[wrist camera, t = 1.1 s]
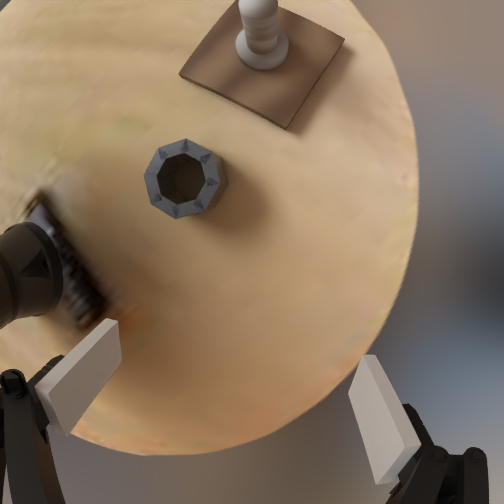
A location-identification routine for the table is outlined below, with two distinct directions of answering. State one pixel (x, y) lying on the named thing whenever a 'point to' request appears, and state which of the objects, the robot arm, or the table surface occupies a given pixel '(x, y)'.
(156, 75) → the table surface
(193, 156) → the collar
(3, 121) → the table surface
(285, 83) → the shaft block
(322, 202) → the table surface
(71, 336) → the table surface
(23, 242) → the robot arm
